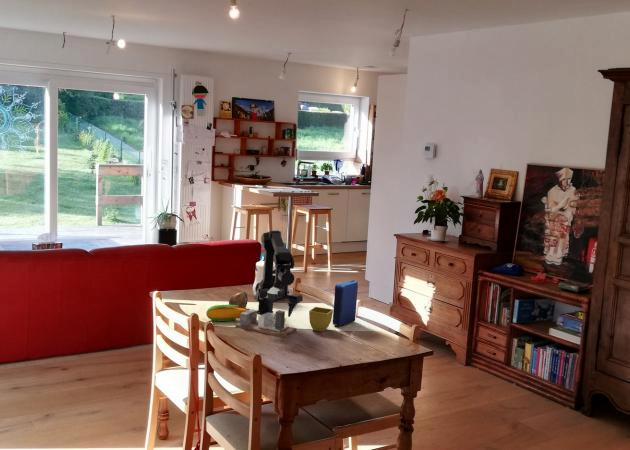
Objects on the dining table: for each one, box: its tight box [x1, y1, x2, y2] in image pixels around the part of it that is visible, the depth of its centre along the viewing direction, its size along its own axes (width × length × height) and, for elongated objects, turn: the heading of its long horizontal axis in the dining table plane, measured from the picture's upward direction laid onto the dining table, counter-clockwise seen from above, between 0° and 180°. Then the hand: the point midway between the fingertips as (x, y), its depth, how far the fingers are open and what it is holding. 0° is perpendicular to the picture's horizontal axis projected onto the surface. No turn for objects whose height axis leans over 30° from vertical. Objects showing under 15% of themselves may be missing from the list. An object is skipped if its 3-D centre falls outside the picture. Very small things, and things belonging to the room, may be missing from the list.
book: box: [332, 279, 359, 327], centre depth 316 cm, size 14×5×20 cm, turn 145°
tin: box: [228, 291, 249, 309], centre depth 329 cm, size 15×3×8 cm, turn 158°
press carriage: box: [257, 310, 290, 332], centre depth 301 cm, size 8×11×8 cm
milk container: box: [252, 260, 282, 300], centre depth 356 cm, size 17×17×18 cm
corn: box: [206, 304, 248, 322], centre depth 313 cm, size 7×8×20 cm
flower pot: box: [308, 306, 334, 332], centre depth 306 cm, size 9×9×9 cm
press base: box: [234, 308, 297, 338], centre depth 303 cm, size 12×24×6 cm, turn 63°
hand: (279, 314), depth 299 cm, fingers open, 9 cm apart
